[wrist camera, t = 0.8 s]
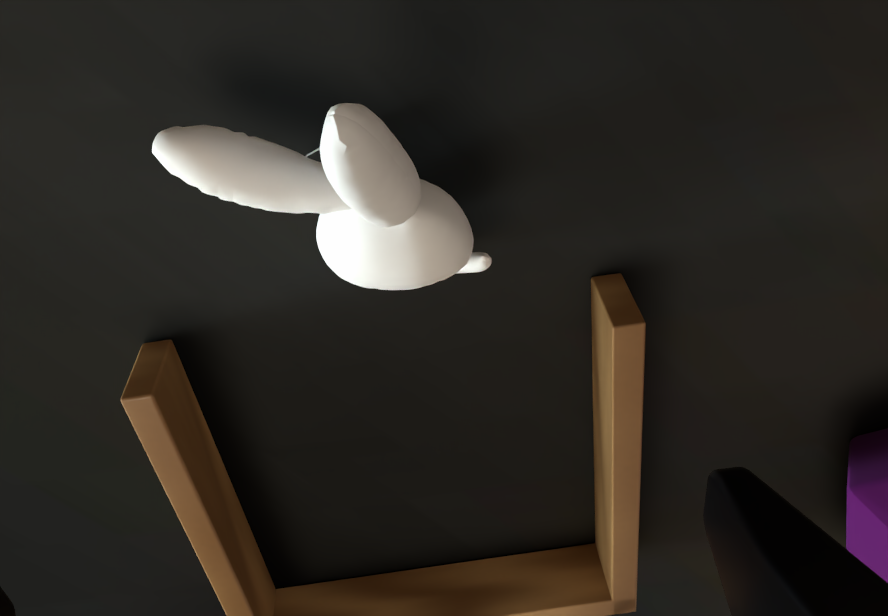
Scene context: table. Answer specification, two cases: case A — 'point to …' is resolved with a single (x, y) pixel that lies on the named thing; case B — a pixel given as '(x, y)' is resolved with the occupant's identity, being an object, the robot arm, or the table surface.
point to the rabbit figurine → (337, 196)
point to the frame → (432, 588)
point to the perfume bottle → (868, 501)
